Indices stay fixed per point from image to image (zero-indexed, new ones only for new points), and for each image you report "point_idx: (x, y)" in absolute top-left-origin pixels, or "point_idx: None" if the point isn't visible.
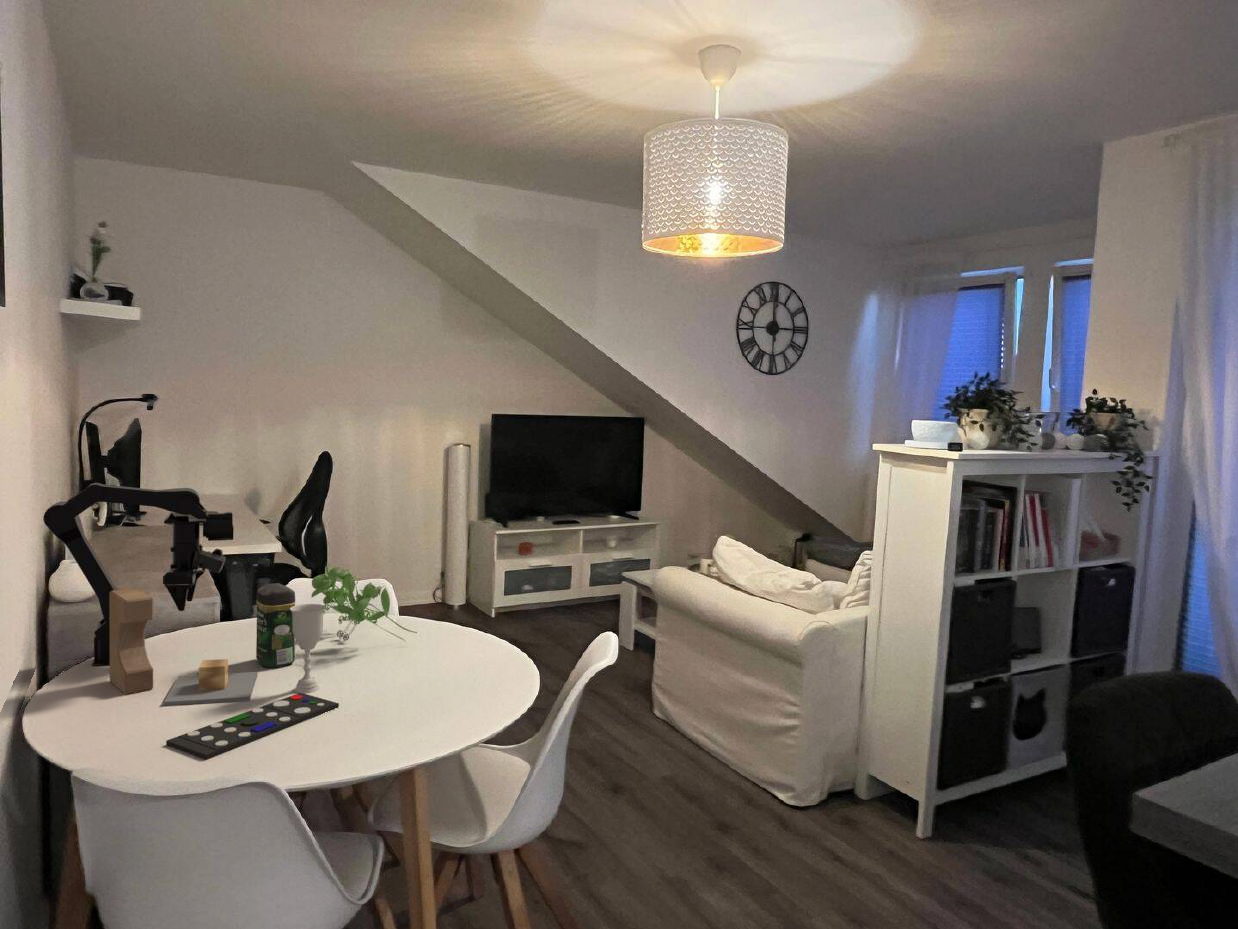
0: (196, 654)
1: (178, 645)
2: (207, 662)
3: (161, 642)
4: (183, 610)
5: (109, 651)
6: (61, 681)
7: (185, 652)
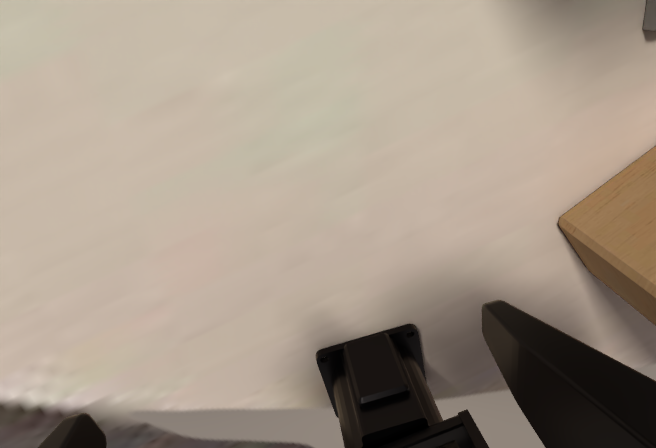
0: (255, 122)
1: (131, 267)
2: None
3: (111, 345)
4: (504, 302)
5: (430, 392)
6: None
7: (232, 189)
